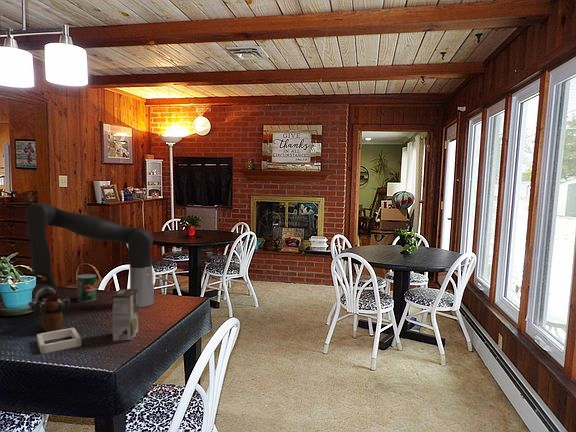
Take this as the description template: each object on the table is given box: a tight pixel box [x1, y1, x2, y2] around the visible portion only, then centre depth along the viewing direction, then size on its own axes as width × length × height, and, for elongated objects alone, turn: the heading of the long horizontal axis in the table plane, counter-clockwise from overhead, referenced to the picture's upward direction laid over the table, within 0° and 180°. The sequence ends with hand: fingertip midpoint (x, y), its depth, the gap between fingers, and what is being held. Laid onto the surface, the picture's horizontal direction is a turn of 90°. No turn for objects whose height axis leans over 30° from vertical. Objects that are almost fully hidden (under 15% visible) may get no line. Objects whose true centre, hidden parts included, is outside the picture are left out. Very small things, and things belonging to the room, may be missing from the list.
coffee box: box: [111, 288, 139, 342], centre depth 143 cm, size 9×6×16 cm
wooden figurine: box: [41, 289, 64, 332], centre depth 146 cm, size 7×6×15 cm
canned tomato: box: [76, 273, 97, 303], centre depth 185 cm, size 8×8×11 cm
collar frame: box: [36, 327, 82, 355], centre depth 136 cm, size 11×12×2 cm
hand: (53, 309), depth 144 cm, fingers closed on wooden figurine, 4 cm apart
